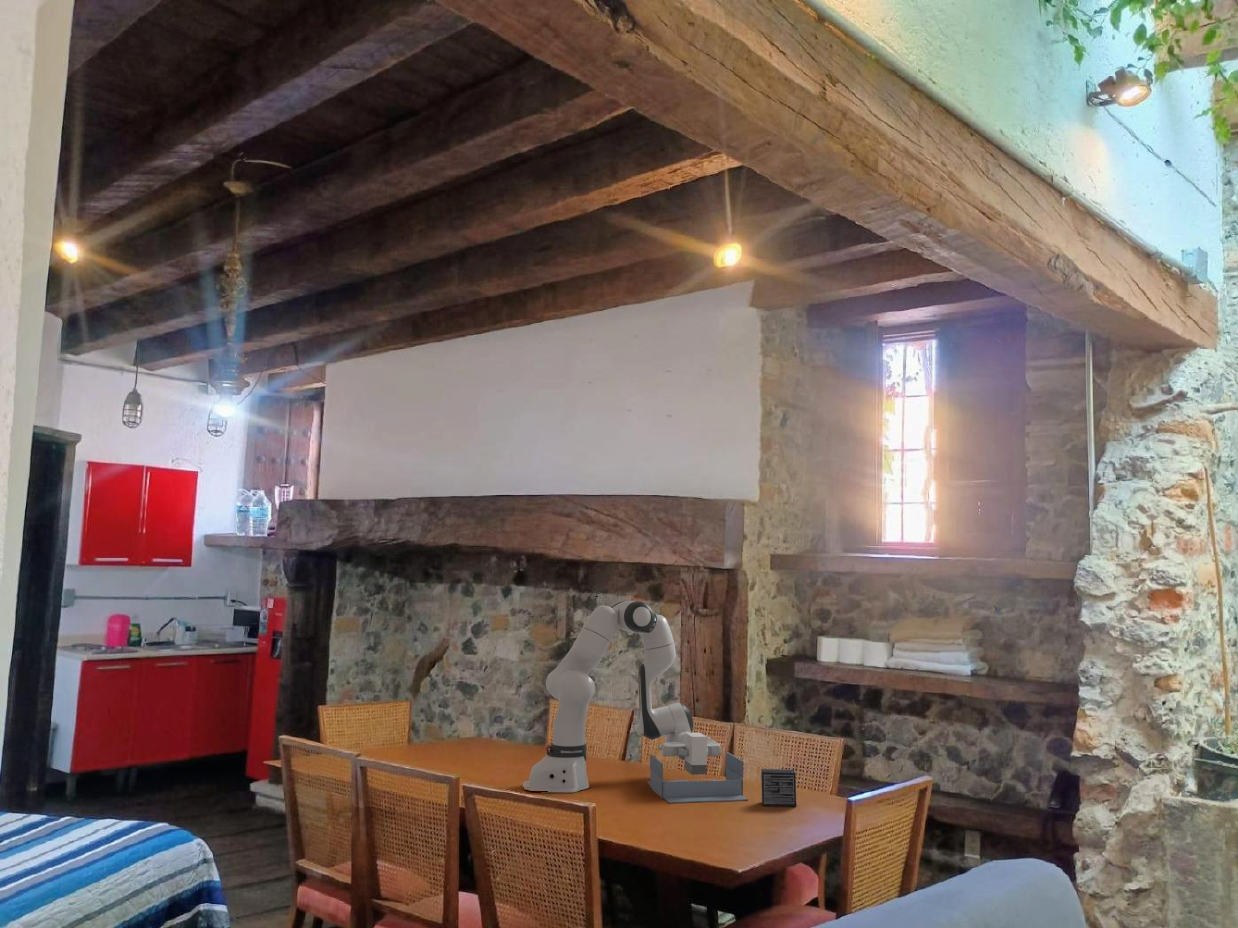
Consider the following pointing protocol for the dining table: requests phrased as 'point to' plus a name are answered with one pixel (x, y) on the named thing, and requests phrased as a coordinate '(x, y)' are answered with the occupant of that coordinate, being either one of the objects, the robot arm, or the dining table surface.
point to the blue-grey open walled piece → (699, 784)
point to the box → (696, 753)
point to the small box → (778, 787)
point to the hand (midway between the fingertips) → (696, 753)
